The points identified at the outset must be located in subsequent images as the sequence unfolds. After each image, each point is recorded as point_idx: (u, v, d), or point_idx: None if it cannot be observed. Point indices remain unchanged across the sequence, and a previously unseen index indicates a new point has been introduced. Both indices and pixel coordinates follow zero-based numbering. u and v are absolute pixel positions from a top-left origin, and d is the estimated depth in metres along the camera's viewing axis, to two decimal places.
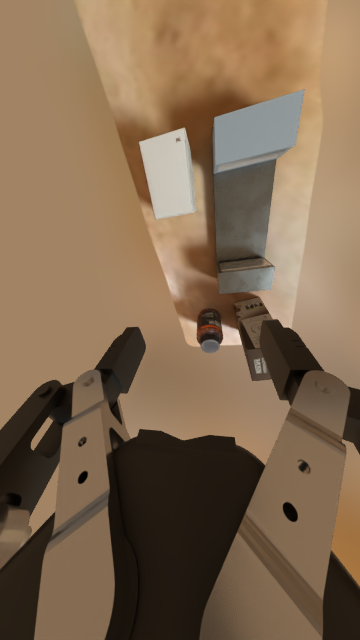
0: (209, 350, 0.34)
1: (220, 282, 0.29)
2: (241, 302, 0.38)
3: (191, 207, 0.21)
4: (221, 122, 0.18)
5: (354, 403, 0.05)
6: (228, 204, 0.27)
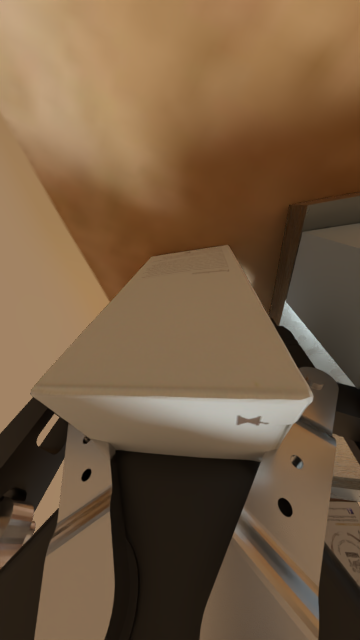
0: None
1: None
2: None
3: None
4: None
5: (343, 398, 0.05)
6: (306, 346, 0.12)
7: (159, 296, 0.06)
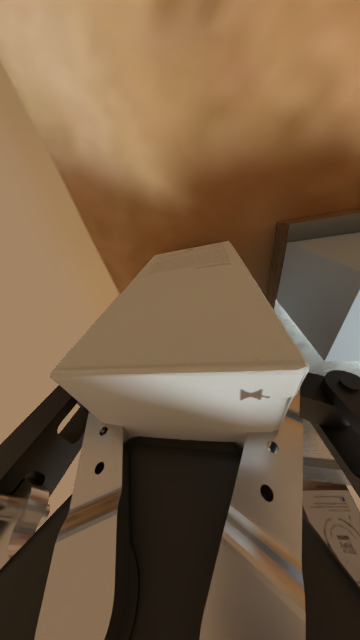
0: None
1: None
2: None
3: None
4: None
5: (305, 384, 0.06)
6: (295, 341, 0.14)
7: (164, 289, 0.06)
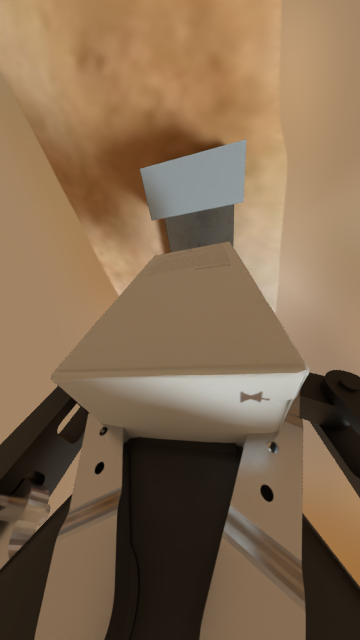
0: None
1: None
2: None
3: None
4: (149, 174, 0.14)
5: (305, 384, 0.06)
6: (185, 249, 0.23)
7: (164, 290, 0.06)
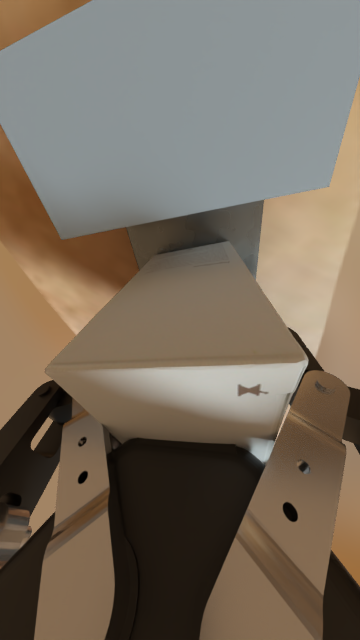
0: None
1: None
2: None
3: None
4: (10, 91, 0.04)
5: (354, 403, 0.05)
6: None
7: (163, 286, 0.06)
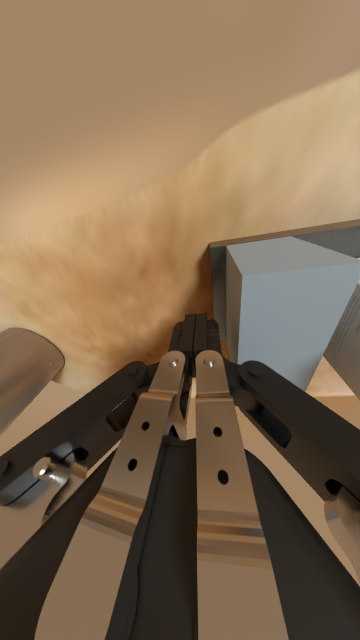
0: None
1: None
2: None
3: None
4: None
5: (228, 373, 0.07)
6: None
7: None
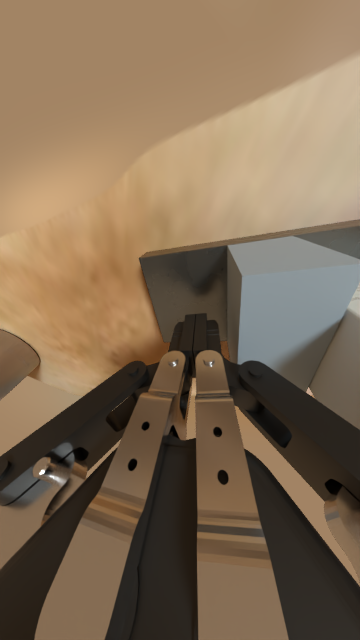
0: None
1: None
2: None
3: None
4: None
5: (228, 373, 0.07)
6: None
7: (328, 376, 0.08)
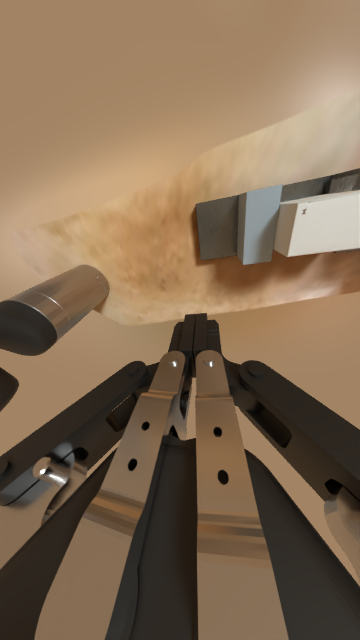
0: None
1: (350, 249, 0.22)
2: None
3: None
4: (247, 259, 0.24)
5: (228, 373, 0.07)
6: None
7: (277, 233, 0.21)
